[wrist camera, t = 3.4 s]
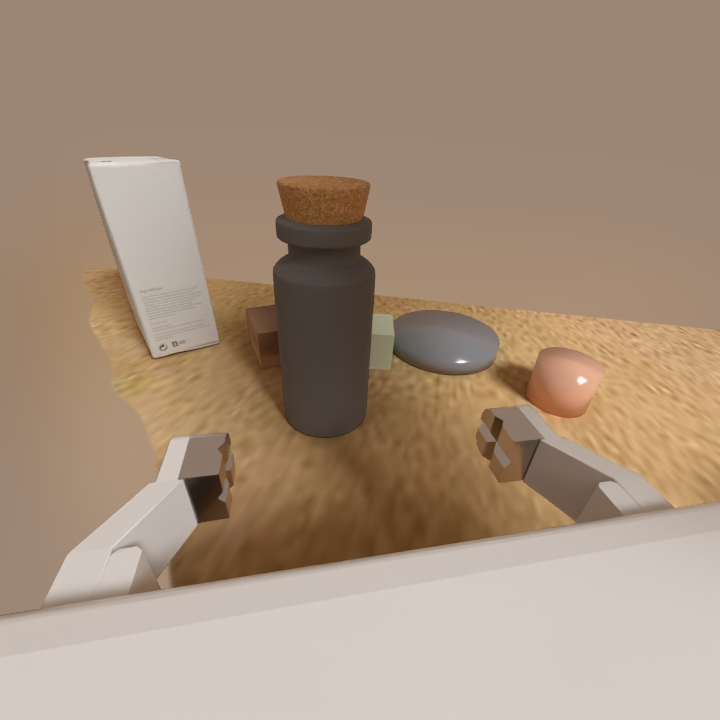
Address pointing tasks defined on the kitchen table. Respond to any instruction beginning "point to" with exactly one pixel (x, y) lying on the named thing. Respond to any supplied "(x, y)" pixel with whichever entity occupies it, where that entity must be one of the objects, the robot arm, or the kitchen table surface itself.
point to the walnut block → (264, 335)
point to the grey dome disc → (444, 342)
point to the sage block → (382, 341)
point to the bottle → (324, 303)
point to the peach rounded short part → (564, 382)
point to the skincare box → (155, 250)
